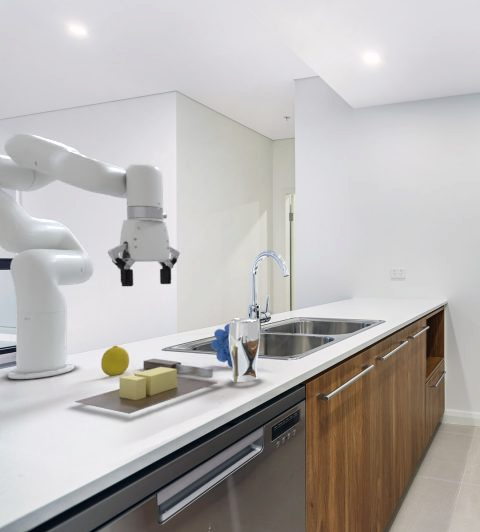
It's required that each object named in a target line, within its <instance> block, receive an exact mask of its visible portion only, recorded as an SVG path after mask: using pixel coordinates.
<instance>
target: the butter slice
mask: <svg viewBox="0 0 480 532" xmlns="http://www.w3.org/2000/svg"><path fill="white" fill-rule="evenodd" d="M119 389H120V397H122V398H127V399H132V400H139V399H142V398H145V397H146V378H145V377H138V376H134V375H131V374H128V375H123V376H119Z"/></svg>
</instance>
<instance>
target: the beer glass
mask: <svg viewBox="0 0 480 532" xmlns="http://www.w3.org/2000/svg"><path fill="white" fill-rule="evenodd" d="M260 320H261V319H260V318H257V317H239V318H232V319H230V320H229V324H230V326H229V349H230V354H231V360H232V366H233V368H232V373H231V380H230V381H232V382H234V383H247V382H252V381H255V380H258V378H259V376H258V369H257V367H258V359H259V354H260V348H261V336H262V335H261V321H260Z"/></svg>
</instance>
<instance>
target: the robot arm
mask: <svg viewBox="0 0 480 532" xmlns="http://www.w3.org/2000/svg"><path fill="white" fill-rule="evenodd" d="M4 151H5V153H6V155H3V154H0V247H1V248H2V249H3V250H4V251H6V252H9V253H13V254H16V255H15V256H14V257H13V258H12V260H11V261H10V267H9V268H10V275H11V279H12V282H13V286H14V293H15V304H16V307H15V308H16V310H15V311H16V357H15V358H14V361H15V363H16V368H14V369H12V370H9V371H8V372H7V377H8V378H9V379H12V380H30V379H31V380H32V379H40V378H48V377H51V376H58V375H61V374H65V373H68V372H71V371H73V370H74V369H75V364H74V363H73V362H68V351H67V350H68V347H67V345H68V344H67V343H68V342H67V341H68V340H67V339H68V335H67V334H68V330H67V329H68V324H67V323H68V322H67V321H68V318H67V317H68V312H67V308H68V307H67V300H66V297H65V295H64V293H63V291H62V290H61V288H60V287H59V286H73V285H79V284H83V283H86V282H87V281H89V280H90V279H91V278H92V277H93V274H94V262H93V260H92V258H91V257H90V255H89V253H88V252H87V250H86V249H85V248H84V247H83V245H82V244H81V242H79V240H78V239H77V237H76V236H75V234H74V233H73V232H72V230H70V229H69V228H68V226H66V225H65V224H63V223H62V222H59V221H56V220H50V219H44V218H36V217H33V216H31V215H30V214H29V213H28V212H27V211H26V210H25V209H24V208H23V206H22V205H21V203H20V202H19V201H18V200H17V198H15V197H13V196H12V195H10V194H9V192H8V193H7V191H5V190H12V191H18V192H35V191H37V190H41V189H42V188H44V187H46V186H48V185H50V184H52V183H54V182H56V181H60V182H62V183H64V184H66V185H70V186H73V187H75V188H78V189H81V190H84V191H87V192H90V193H95V194H98V195H99V194H100V195H105V196H111V197H114V198H120V199H125V200H126V219H123V222H122V224H121V229H120V238H119V245H117V246H115V247H113V248H111V249H109V250H108V251H107V255H108V256H109V258H110V259H111V262H112V263H113V264H114V265H115V266H116V267H117V269H118V270H119V273H120V283H121V287H133V286H134V270H133V269H131V268H132V266H133V265H134V264H135V263H136V262H138V263H139V262H141V263H142V262H144V263H145V262H146V263H147V262H148V263H149V262H150V263H151V262H157V263H158V265H159V266H160V267H161V268H160V269H159V284H160V285H171V284H172V269H173V268H174V266H175V265H176V263H178V258H179V257H180V255H181V253H180V251H178V250H177V249H175V248H173V247H172V246H171V245H170V238H169V232H168V226H167V224H166V222H165V221H164V219H165V220H166V219H167V217H168V215H167V213H164V195H163V194H164V189H163V187H164V186H163V185H164V184H163V172H162V170H161V169H160V168H159V167H158V166H155V165H152V164H146V163H134V164H130V165H128V166H127V167H126V168H125V167H122V166H119V165H115V164H111V163H108V162H105V161H102V160H98V159H95V158H92V157H89V156H85V155H83V154H81V152H80V151H78V150H77V149H75V148H73V147H70V146H67V145H65V144H64V143H61V142H57V141H56V140H55V141H54V140H51V139H48V138H44V137H42V136H38V135H35V134H31V133H16V134H13V135H11V136H9V137H8V138H6V140H5V142H4ZM4 189H5V190H4Z"/></svg>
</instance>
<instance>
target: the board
mask: <svg viewBox="0 0 480 532" xmlns="http://www.w3.org/2000/svg"><path fill="white" fill-rule="evenodd" d="M216 384H217V382H215V381H209V380H204V379H197V378H189V377H185V376H184V377H183V376H177V387H176V388H173V389H170V390H167V391H164V392H161V393H157V394H154V395H151V396H150V395H146V397H145V398H142V399H139V400H132V399H127V398H122V397H120V388H118V389H114V390H112V391H107V392H103V393H99V394H96V395H93V396H90V397H85V398H83V399H79V400H75V401H74V402H75V403H79V404H83V405H88V406H92V407H97V408H102V409H106V410H110V411H115V412H119V413H124V414H129V415H130V414H132V413H136V412H139V411H142V410H144V409H147V408H151V407H153V406H156V405H158V404H161V403H165V402H168V401H170V400H173V399H175V398H178V397H181V396H185V395H187V394H190V393H193V392H196V391H199V390H202V389H205V388H208V387H211V386H214V385H216Z"/></svg>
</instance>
